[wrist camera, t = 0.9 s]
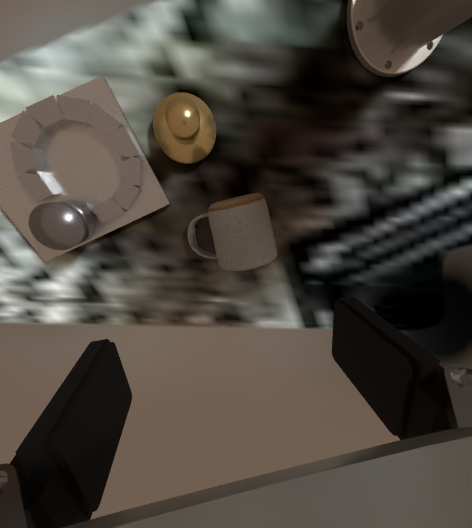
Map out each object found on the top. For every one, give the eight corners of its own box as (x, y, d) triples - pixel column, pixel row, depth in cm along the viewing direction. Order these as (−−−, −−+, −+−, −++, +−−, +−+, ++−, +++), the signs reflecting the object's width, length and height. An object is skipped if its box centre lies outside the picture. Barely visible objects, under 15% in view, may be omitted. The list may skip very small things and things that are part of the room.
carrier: (106, 80, 25) (86, 57, 20) (171, 203, 30) (166, 206, 25) (-38, 147, 25) (-91, 139, 20) (50, 259, 30) (25, 272, 25)
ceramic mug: (256, 189, 31) (273, 190, 24) (268, 246, 34) (286, 262, 27) (179, 209, 30) (172, 217, 23) (198, 265, 33) (197, 288, 26)
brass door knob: (199, 87, 26) (199, 57, 20) (224, 149, 29) (232, 139, 23) (143, 113, 26) (127, 90, 20) (173, 173, 29) (167, 170, 23)
